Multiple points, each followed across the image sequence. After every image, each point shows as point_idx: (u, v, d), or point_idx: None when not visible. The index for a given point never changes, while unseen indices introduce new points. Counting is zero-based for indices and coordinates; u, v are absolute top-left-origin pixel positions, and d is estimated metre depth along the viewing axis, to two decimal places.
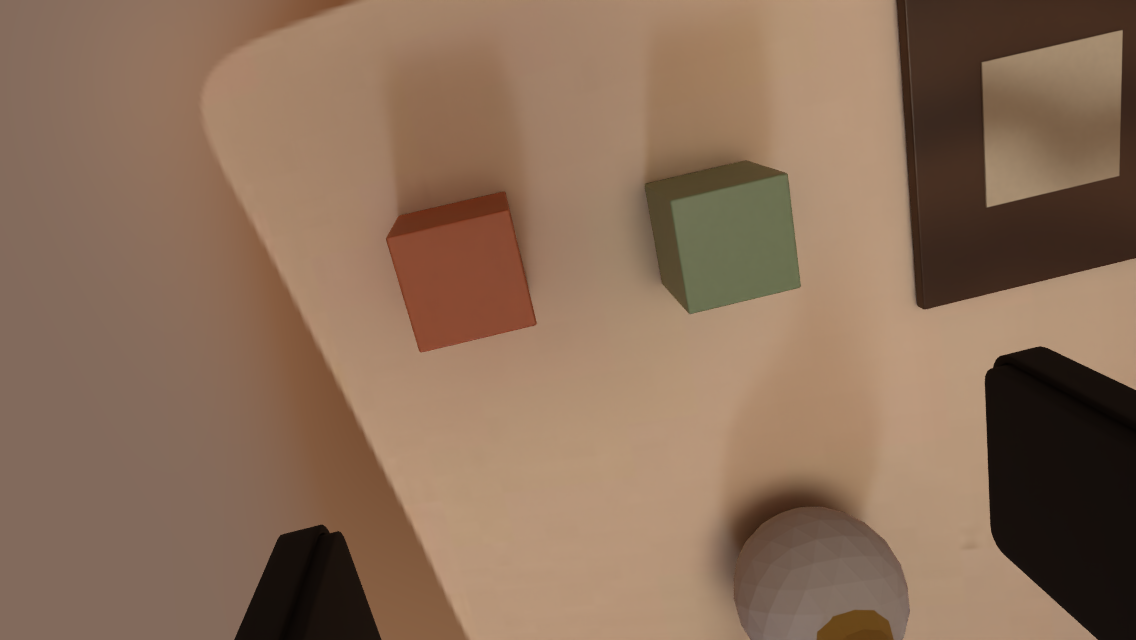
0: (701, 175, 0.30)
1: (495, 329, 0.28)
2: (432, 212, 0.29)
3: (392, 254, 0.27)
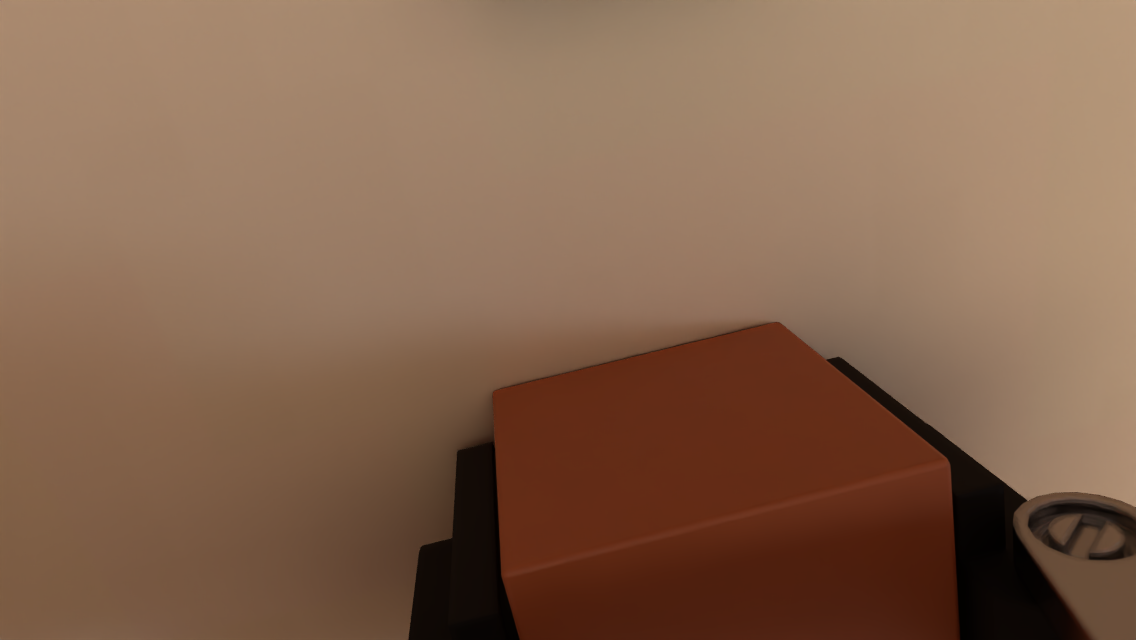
0: None
1: (939, 594, 0.08)
2: None
3: None
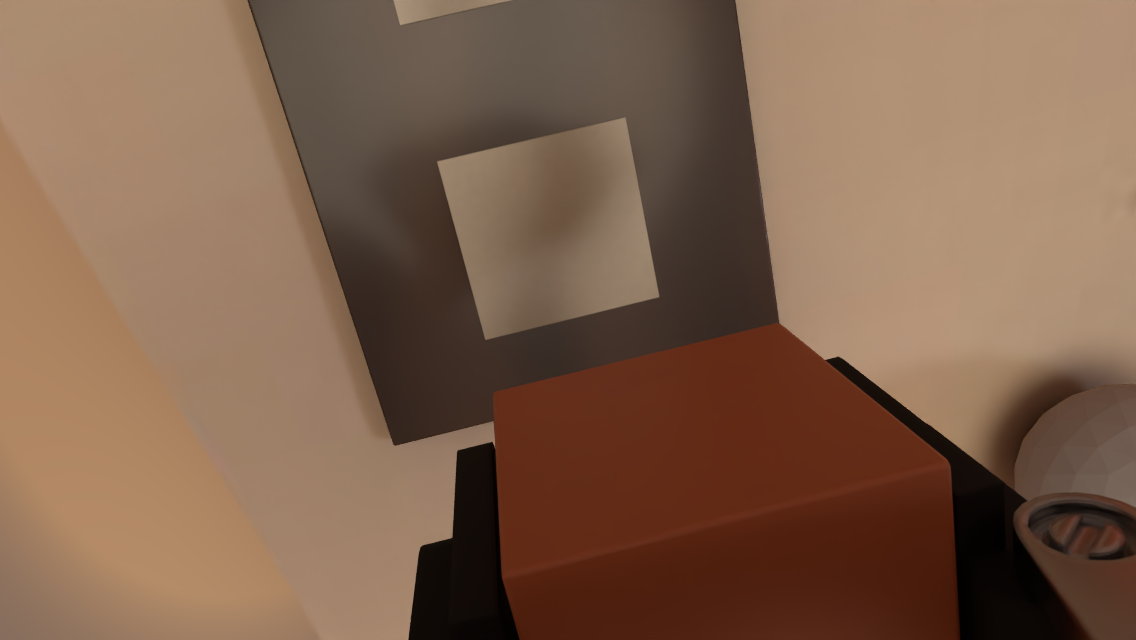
0: None
1: (940, 595, 0.08)
2: None
3: None
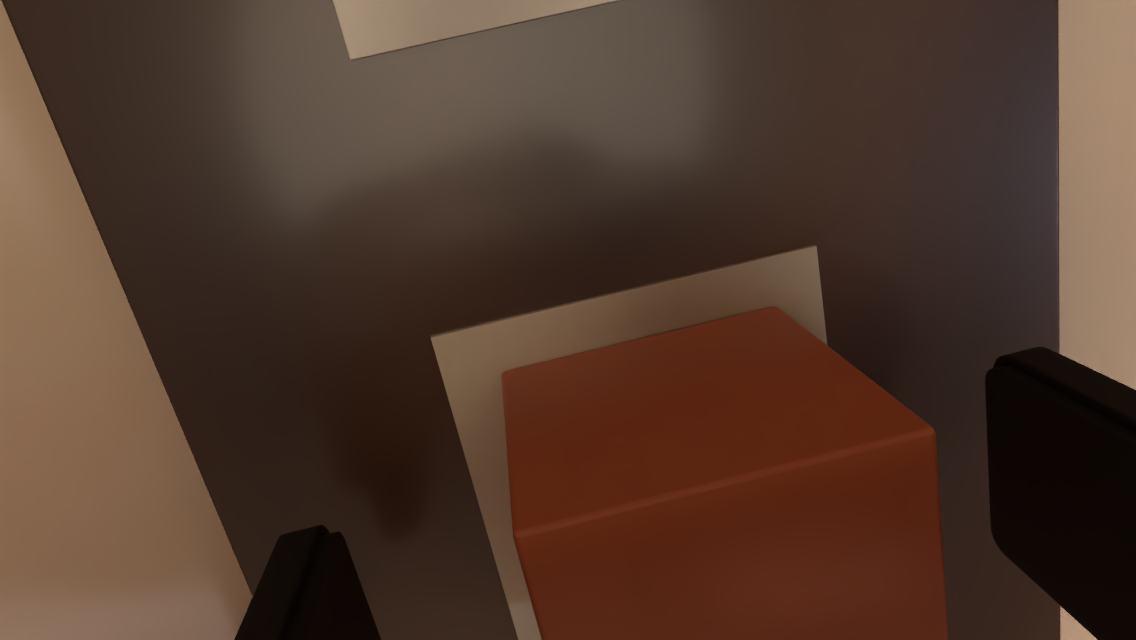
0: None
1: (926, 557, 0.08)
2: None
3: None
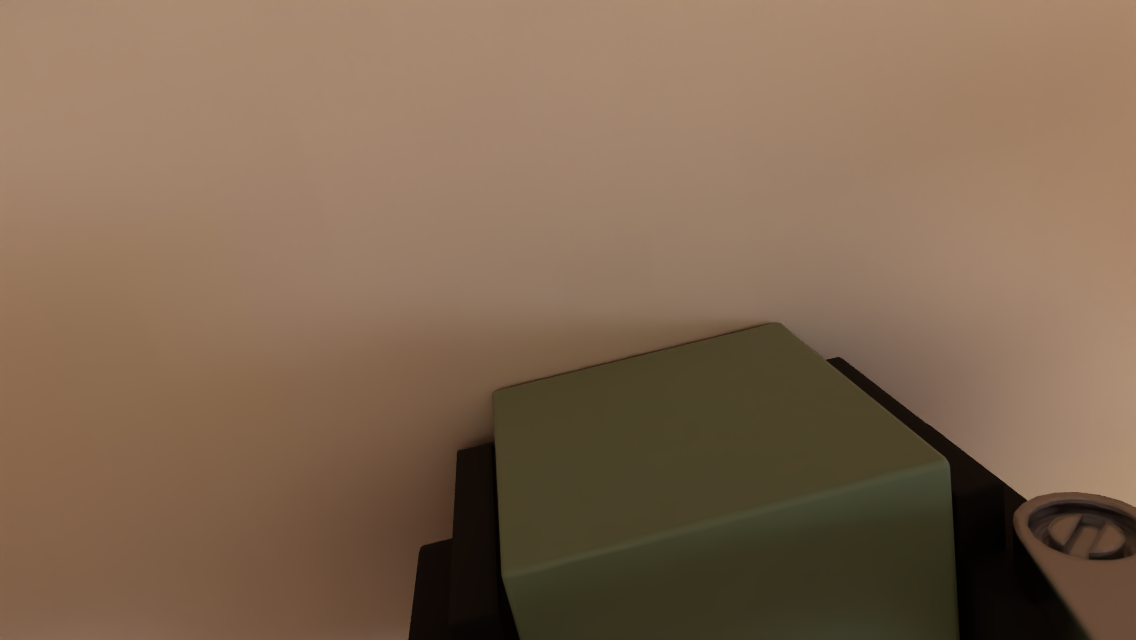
0: None
1: None
2: None
3: None
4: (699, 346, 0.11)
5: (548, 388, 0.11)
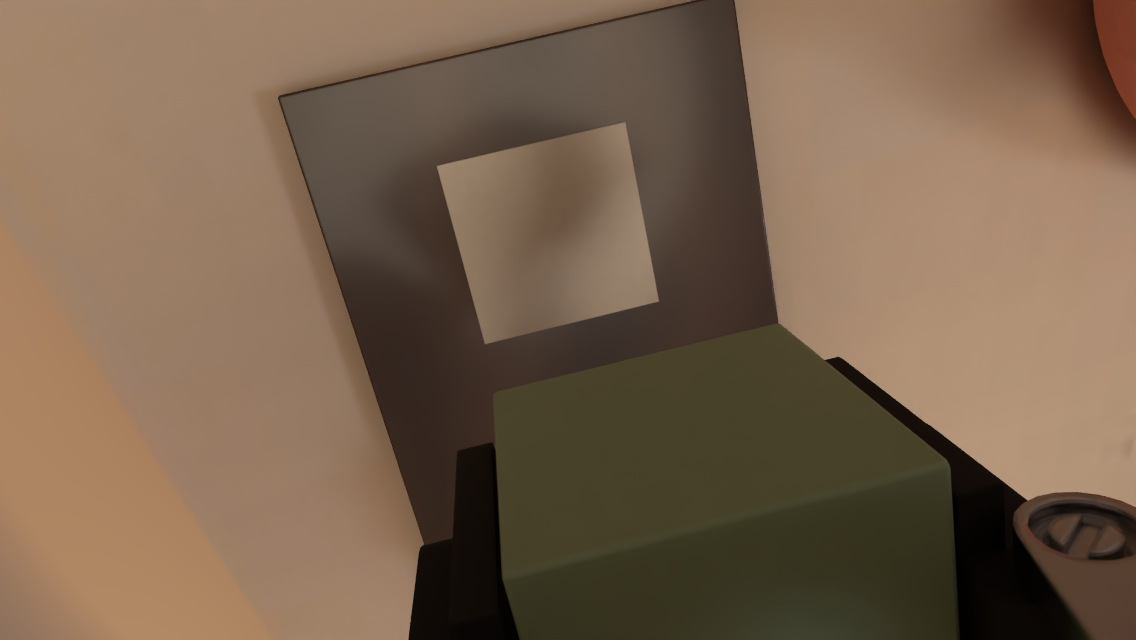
0: None
1: None
2: None
3: None
4: (699, 347, 0.11)
5: (548, 390, 0.11)
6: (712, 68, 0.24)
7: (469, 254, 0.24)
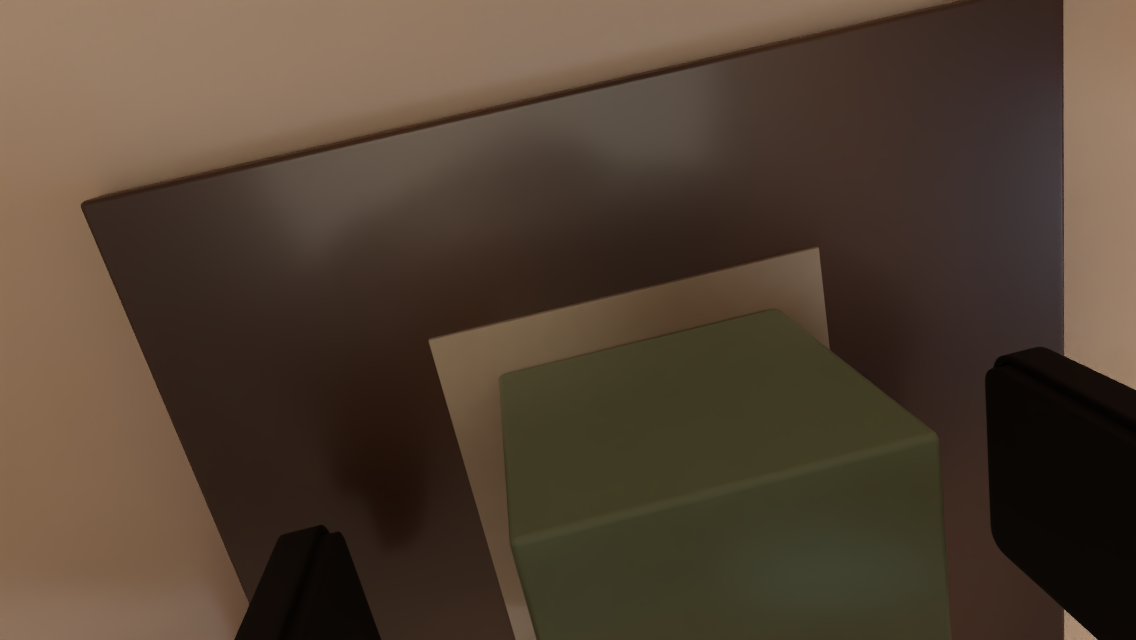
0: None
1: None
2: None
3: None
4: (699, 332, 0.11)
5: (552, 373, 0.11)
6: (1002, 138, 0.11)
7: (494, 505, 0.12)
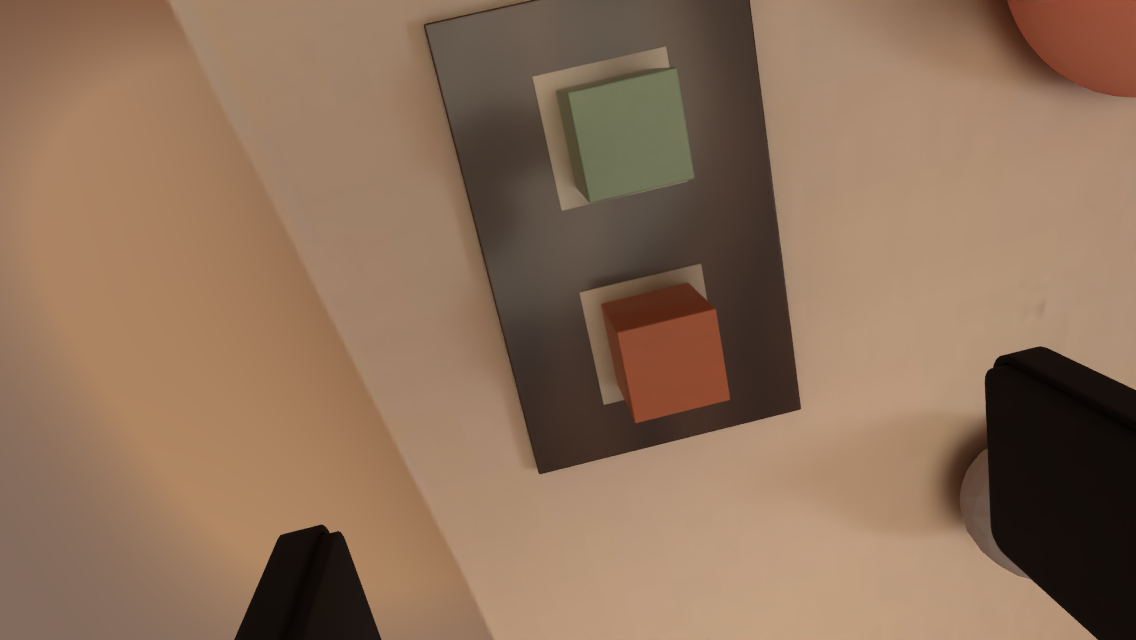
0: (569, 144, 0.33)
1: (716, 342, 0.33)
2: (616, 367, 0.36)
3: (648, 419, 0.34)
4: None
5: (574, 86, 0.33)
6: (728, 8, 0.33)
7: (553, 142, 0.34)
